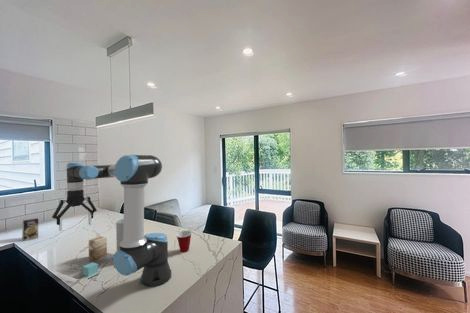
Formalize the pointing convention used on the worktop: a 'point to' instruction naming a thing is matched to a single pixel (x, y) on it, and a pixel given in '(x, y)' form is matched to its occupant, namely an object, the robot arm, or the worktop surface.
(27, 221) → the coffee box
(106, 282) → the worktop surface
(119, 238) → the cylinder vase
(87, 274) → the teal block
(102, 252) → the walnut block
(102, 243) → the beech block
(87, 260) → the slate board
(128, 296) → the worktop surface
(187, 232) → the plastic cup
